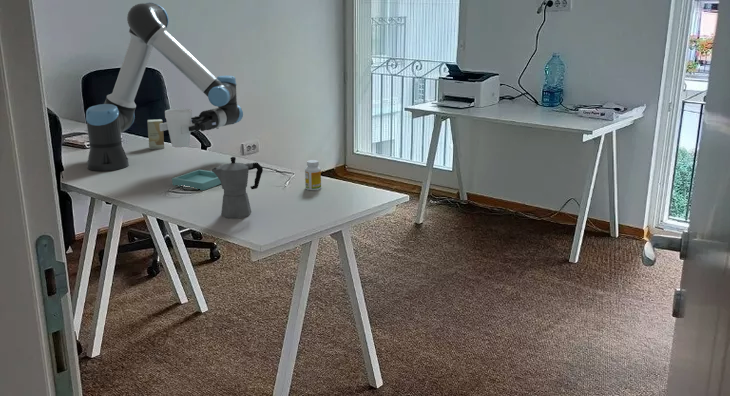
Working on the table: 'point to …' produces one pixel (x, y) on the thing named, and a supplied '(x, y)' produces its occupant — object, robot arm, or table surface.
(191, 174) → the tray
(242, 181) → the coffeepot
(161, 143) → the skincare box
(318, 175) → the supplement bottle
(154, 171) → the table surface
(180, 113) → the foam cup
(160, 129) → the robot arm
